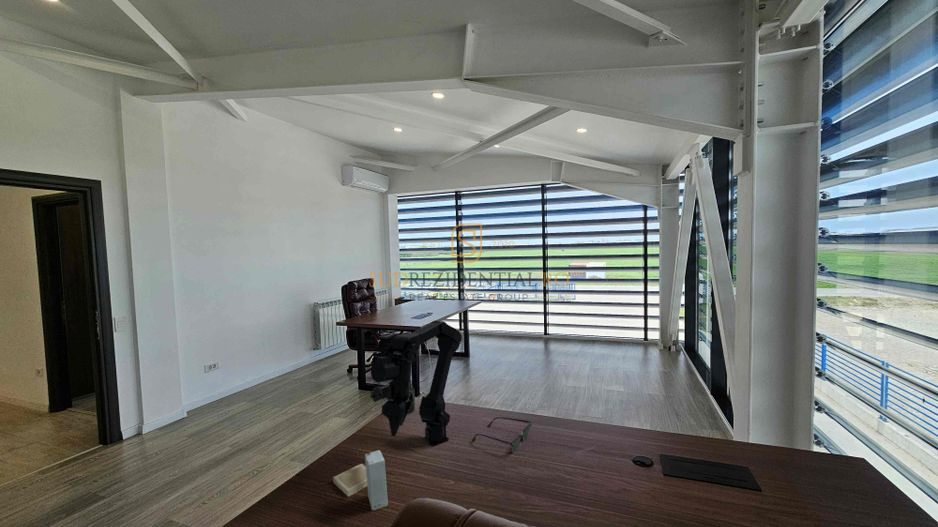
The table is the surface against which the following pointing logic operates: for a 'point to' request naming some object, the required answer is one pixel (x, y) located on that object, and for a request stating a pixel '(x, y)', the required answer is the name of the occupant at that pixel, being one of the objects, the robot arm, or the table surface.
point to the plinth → (352, 480)
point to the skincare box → (376, 480)
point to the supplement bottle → (413, 401)
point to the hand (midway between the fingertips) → (397, 430)
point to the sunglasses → (515, 443)
